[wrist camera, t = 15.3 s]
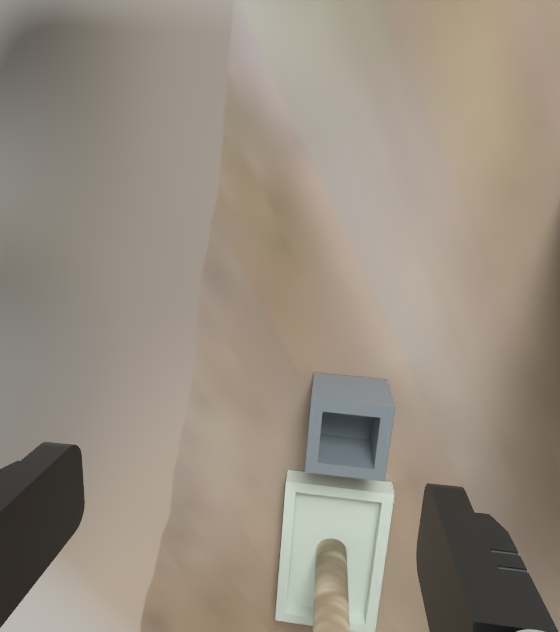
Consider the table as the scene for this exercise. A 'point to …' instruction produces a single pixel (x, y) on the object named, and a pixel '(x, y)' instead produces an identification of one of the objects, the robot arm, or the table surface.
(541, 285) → the table surface
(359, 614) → the sage tray
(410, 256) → the table surface
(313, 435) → the slate box
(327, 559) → the dowel
